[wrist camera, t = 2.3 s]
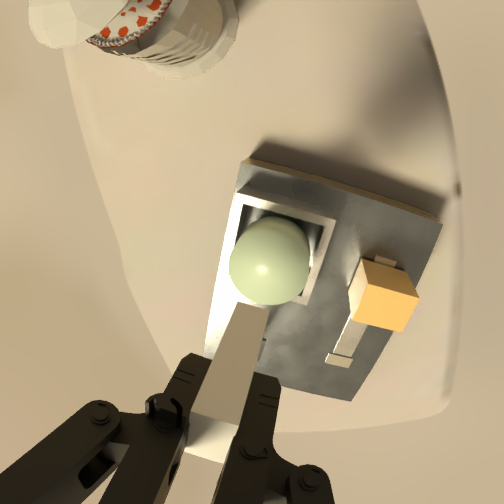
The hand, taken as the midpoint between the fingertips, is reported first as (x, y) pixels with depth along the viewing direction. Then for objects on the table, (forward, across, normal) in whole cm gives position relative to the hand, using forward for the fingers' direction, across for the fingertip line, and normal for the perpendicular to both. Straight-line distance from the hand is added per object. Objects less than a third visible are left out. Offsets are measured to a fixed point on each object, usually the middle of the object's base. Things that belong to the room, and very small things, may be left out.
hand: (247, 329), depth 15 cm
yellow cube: (+11, +9, 0) cm, 14 cm away
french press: (+14, -13, +16) cm, 25 cm away
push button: (+9, 0, 0) cm, 9 cm away
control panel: (+14, +4, -4) cm, 15 cm away
